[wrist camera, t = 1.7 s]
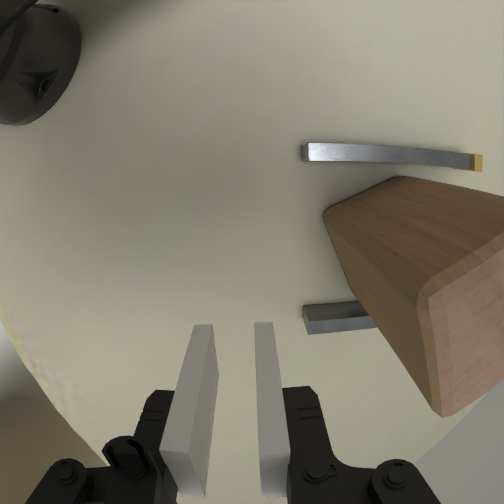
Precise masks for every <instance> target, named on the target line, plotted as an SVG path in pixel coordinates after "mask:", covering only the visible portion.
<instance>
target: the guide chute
mask: <svg viewBox="0 0 504 504" xmlns="http://www.w3.org/2000/svg"><path fill="white" fill-rule="evenodd" d="M302 161H366V162H390V163H407V164H422V165H434V166H445V167H453V168H454V169H462V170H469V171H477V172H482V155H479V154H469V153H454V152H446V151H438V150H429V149H419V148H408V147H396V146H382V145H363V144H335V143H307V144H303V145H302ZM303 320H304V323H305V327H306V330H307V333H308V335H309V334H321V333H332V332H341V331H351V330H359V329H368V328H376V327H377V326H376V324H375V323H374V321H373V320H372V318H371V317H370V316H369V314H368V313H367V311H366V310H365V309H364V307H363V306H362V304H361V303H360V302H359V301H354V302H342V303H331V304H318V305H304V306H303Z"/></svg>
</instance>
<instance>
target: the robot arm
mask: <svg viewBox="0 0 504 504" xmlns="http://www.w3.org/2000/svg"><path fill="white" fill-rule="evenodd" d="M37 1H38V0H0V124H4V125H23V124H27V123H29V122H32V121H34V120H35V119H37V118H39V117H40V116H41V115H43V114H44V113H45V112H46V111H47V110H48V109H49V108H50V107H51V106H52V105H53V104H54V103H55V102H56V101H57V100H58V98H59V97H60V96H61V94H62V93H63V91H64V90H65V88H66V86H67V85H68V83H69V81H70V79H71V77H72V75H73V73H74V70H75V68H76V65H77V62H78V59H79V54H80V49H81V32H80V28H79V25H78V23H77V21H76V19H75V18H74V17H73V16H72V15H71V14H69V13H68V12H66V11H65V10H63V9H62V8H60V7H57V6H54V5H44V4H35V3H36V2H37ZM254 332H255V359H256V387H257V414H258V442H259V462H260V478H261V494H262V498H276V497H287V501H288V504H441V503H440V502H439V500H438V499H437V497H436V496H435V494H434V493H433V491H432V490H431V488H430V487H429V485H428V484H427V482H426V481H425V480H424V478H423V476H422V475H421V474H420V472H419V471H418V469H417V468H416V467H415V466H414V465H413V464H412V463H410V462H408V461H406V460H401V459H392V460H388V461H385V462H383V463H382V464H380V465H378V467H377V468H376V469H372V468H357V467H351V466H348V465H345V464H343V463H342V462H340V461H339V460H338V459H337V458H336V457H335V456H334V454H333V451H332V448H331V444H330V440H329V437H328V433H327V429H326V425H325V421H324V418H323V414H322V410H321V406H320V402H319V399H318V395H317V394H316V393H315V392H314V391H313V390H312V389H311V387H310V386H301V387H290V388H282V385H281V378H280V370H279V363H278V356H277V349H276V342H275V335H274V328H273V322H263V323H254ZM218 378H219V372H218V365H217V357H216V350H215V342H214V334H213V326H212V324H209V325H194V328H193V331H192V334H191V338H190V341H189V344H188V348H187V351H186V355H185V358H184V361H183V365H182V368H181V372H180V375H179V379H178V382H177V386H176V389H175V391H170V390H155V391H154V392H153V393H152V394H151V395H150V396H149V397H148V398H147V400H146V403H145V405H144V408H143V412H142V413H141V416H140V421H139V422H138V425H137V427H136V430H135V433H134V436H119V437H117V438H114V439H112V440H110V441H109V442H108V443H107V444H105V446H104V448H103V449H102V453H103V454H104V456H105V458H106V459H107V461H108V462H109V464H110V465H111V466H107V467H98V468H85V467H84V466H83V464H82V463H80V462H79V461H77V460H74V459H70V458H69V459H61V460H59V461H57V462H55V463H54V464H53V465H52V466H51V467H50V468H49V470H48V471H47V473H46V474H45V475H44V477H43V478H42V480H41V481H40V483H39V484H38V485H37V487H36V488H35V490H34V491H33V493H32V494H31V496H30V497H29V499H28V500H27V501H26V503H25V504H177V502H176V497H177V491H179V493H180V495H181V496H184V497H197V498H205V494H206V484H207V474H208V465H209V456H210V447H211V438H212V429H213V420H214V412H215V403H216V395H217V386H218Z"/></svg>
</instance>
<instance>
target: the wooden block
mask: <svg viewBox="0 0 504 504" xmlns="http://www.w3.org/2000/svg"><path fill="white" fill-rule="evenodd" d="M324 223H325V225H326V228H327V230H328V232H329V235H330V237H331V240H332V242H333V245H334V247H335V250H336V252H337V255H338V257H339V260H340V262H341V265H342V267H343V270H344V272H345V275H346V278H347V280H348V283H349V286H350V288H351V291H352V292H353V293H354V295H355V296H356V297H357V299H358V300H359V302H360V303H361V304H362V306H363V307H364V309H365V310H366V311H367V313H368V314H369V316H370V317H371V318H372V320H373V321H374V323H375V324H376V326H377V327H378V328H379V330H380V331H381V333H382V334H383V336H384V337H385V339H386V340H387V341H388V343H389V344H390V346H391V347H392V349H393V350H394V352H395V353H396V355H397V356H398V358H399V359H400V361H401V362H402V364H403V365H404V367H405V368H406V370H407V371H408V373H409V374H410V376H411V377H412V379H413V380H414V382H415V383H416V385H417V386H418V388H419V390H420V391H421V393H422V394H423V396H424V397H425V399H426V401H427V402H428V404H429V405H430V407H431V408H432V410H433V411H434V412H435V413H437V414H438V415H439V416H441V417H442V418H444V417H448V416H452V415H453V414H455V413H457V412H458V411H460V410H461V409H463V408H464V407H466V406H467V405H469V404H470V403H472V402H473V401H475V400H476V399H478V398H479V397H481V396H482V395H483V394H485V393H486V392H488V391H489V390H490V389H491V388H493V387H494V386H496V385H497V384H498V383H500V382H501V381H502V380H503V379H504V197H503V196H499V195H495V194H491V193H487V192H483V191H478V190H474V189H469V188H465V187H460V186H455V185H451V184H446V183H441V182H435V181H430V180H425V179H419V178H413V177H407V176H397V177H395V178H392V179H390V180H388V181H386V182H384V183H382V184H379V185H377V186H375V187H373V188H371V189H369V190H366V191H364V192H362V193H360V194H358V195H356V196H354V197H351V198H349V199H347V200H345V201H343V202H341V203H338V204H336V205H334V206H332V207H330V208H329V209H328V210H327V211H326V212H325V213H324Z"/></svg>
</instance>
